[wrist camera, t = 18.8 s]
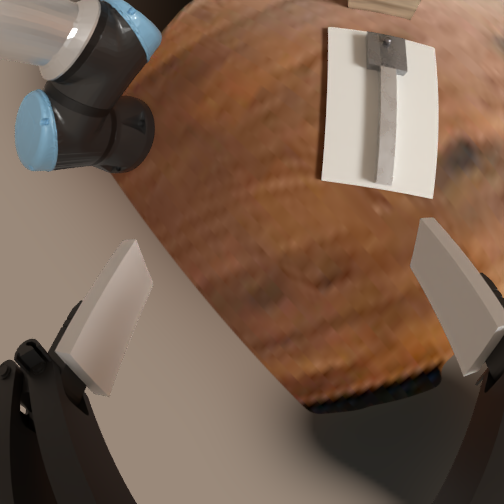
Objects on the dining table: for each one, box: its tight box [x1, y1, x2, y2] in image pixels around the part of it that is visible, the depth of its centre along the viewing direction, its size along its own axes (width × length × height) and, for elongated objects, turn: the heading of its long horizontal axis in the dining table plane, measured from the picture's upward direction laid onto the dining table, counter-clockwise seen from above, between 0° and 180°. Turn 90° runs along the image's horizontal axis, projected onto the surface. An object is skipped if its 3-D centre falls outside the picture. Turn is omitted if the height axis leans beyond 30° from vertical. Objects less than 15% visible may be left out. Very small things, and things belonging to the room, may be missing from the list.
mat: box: [321, 27, 438, 199], centre depth 35 cm, size 26×18×1 cm
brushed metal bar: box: [366, 31, 407, 186], centre depth 33 cm, size 24×6×4 cm, turn 177°
